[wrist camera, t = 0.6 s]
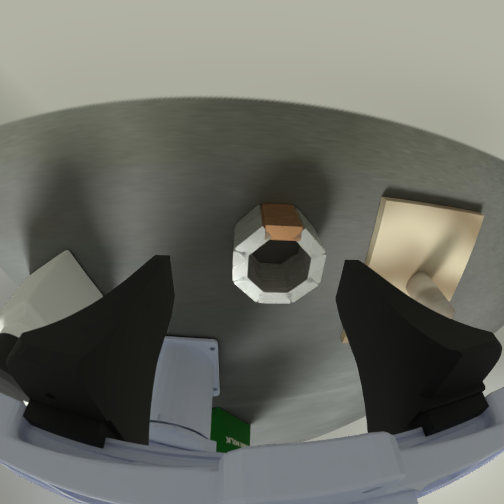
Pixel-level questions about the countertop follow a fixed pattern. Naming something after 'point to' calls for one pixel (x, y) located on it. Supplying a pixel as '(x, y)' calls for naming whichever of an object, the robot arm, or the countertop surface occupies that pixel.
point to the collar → (276, 275)
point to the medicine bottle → (42, 308)
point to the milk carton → (228, 431)
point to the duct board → (422, 249)
